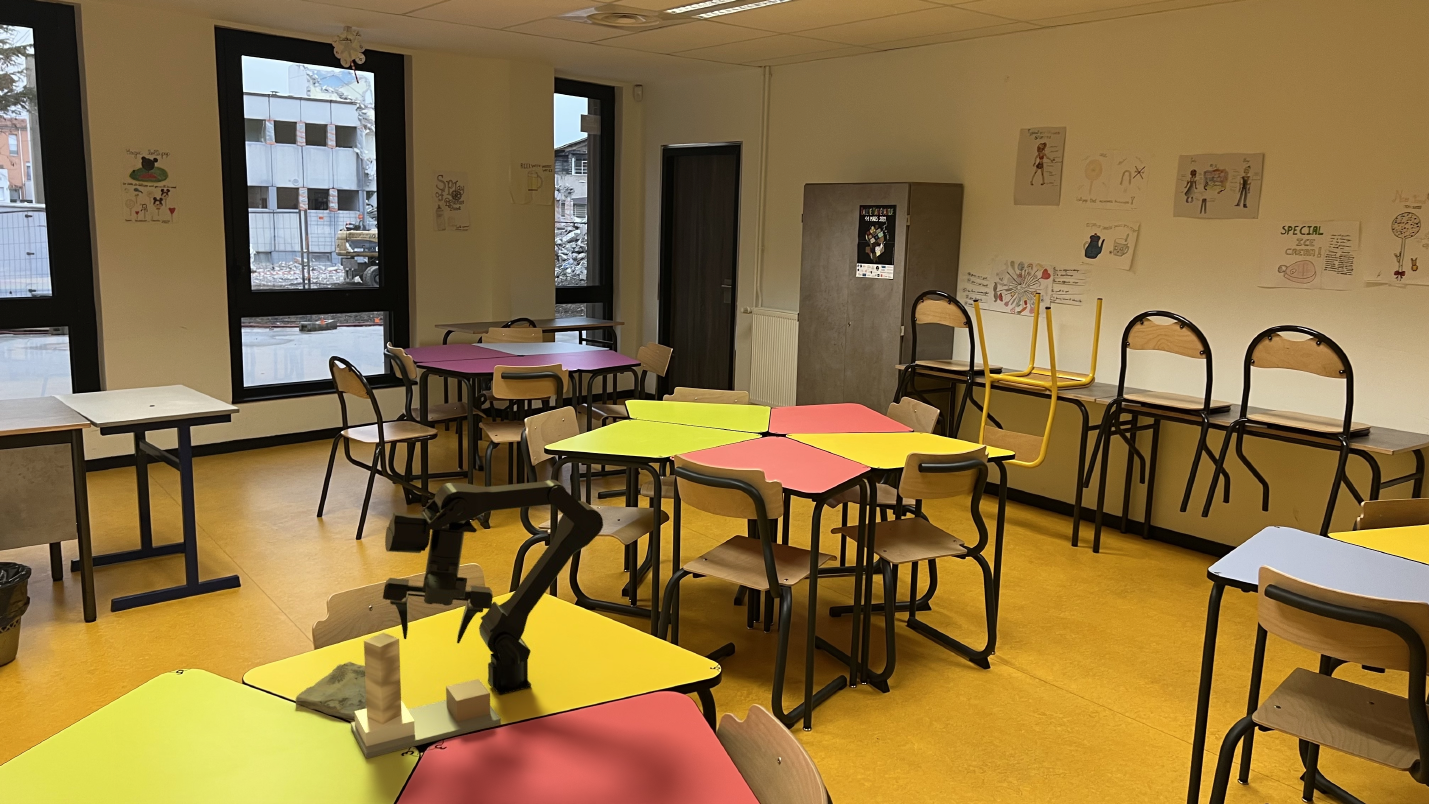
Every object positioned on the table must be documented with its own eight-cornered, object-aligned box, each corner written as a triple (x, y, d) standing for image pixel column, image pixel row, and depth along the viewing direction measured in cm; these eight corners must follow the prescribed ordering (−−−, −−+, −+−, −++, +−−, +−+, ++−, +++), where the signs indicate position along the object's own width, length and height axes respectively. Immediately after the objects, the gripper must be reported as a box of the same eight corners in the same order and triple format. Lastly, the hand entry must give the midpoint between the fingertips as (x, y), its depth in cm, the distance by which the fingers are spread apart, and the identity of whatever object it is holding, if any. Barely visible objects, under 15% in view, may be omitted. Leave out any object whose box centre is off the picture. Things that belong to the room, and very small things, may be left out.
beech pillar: (386, 707, 173) (383, 632, 171) (401, 714, 171) (399, 638, 168) (366, 717, 170) (363, 640, 167) (382, 724, 168) (379, 646, 165)
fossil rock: (340, 670, 195) (339, 658, 195) (411, 679, 192) (411, 667, 192) (285, 713, 178) (285, 701, 178) (362, 724, 175) (362, 712, 175)
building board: (479, 696, 185) (479, 671, 184) (500, 723, 176) (500, 697, 175) (350, 727, 173) (349, 701, 172) (366, 758, 164) (365, 730, 163)
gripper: (387, 557, 169) (373, 649, 169) (499, 569, 174) (485, 657, 174) (391, 546, 180) (378, 631, 180) (496, 556, 184) (484, 640, 184)
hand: (431, 640), depth 179 cm, fingers open, 9 cm apart
